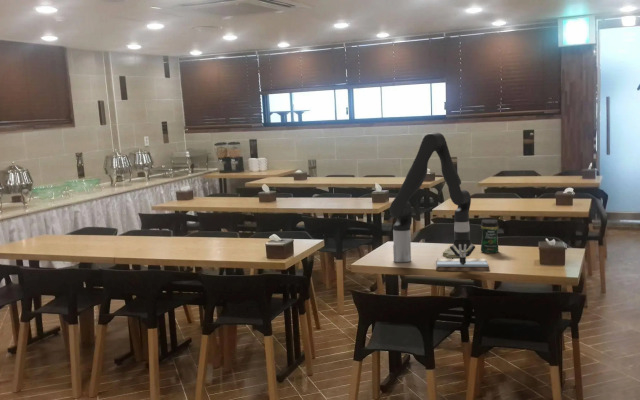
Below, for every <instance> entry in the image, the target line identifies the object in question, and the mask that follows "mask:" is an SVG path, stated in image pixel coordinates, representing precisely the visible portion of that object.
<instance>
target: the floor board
mask: <svg viewBox="0 0 640 400" xmlns="http://www.w3.org/2000/svg"><path fill="white" fill-rule="evenodd" d="M437 261H460V258H453V259H452V258H436V260H435V270H436V271H453V272H455V271H456V272H457V271H458V272H459V271H460V272H461V271H463V272H465V271H468V272H469V271H479V272H482V271H485V272H486V271H488V272H489V271H490V266H489V265H488V267H437ZM466 261H481V262H487V263H488V260H487V259H486V258H466Z"/></svg>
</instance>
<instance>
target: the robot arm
mask: <svg viewBox="0 0 640 400" xmlns="http://www.w3.org/2000/svg"><path fill="white" fill-rule="evenodd" d="M434 152H435V153H436V154H437V156H438V158H439V160H440V166H441V167H440V168H441V173H442V177H443V179H444V181H445V184H446V185H447V189H448V193H449V197H450V199H451V202H452V203H453V204H454V205H455V206H457V208H456V209H455V211H454V224H453V226H454V229H453V230H454V231H453V232H454V233H453V234H454V241H453V244H452V245H450V246H449V247H450V249H451V250H452V251H453V252H454V253H455V255H456V256H459V257H460V258H459V259H460V263H461V265H464V263H466V259H467V257H469V256H471V254H472V253H473V252H474V250H475V249H476V246H475V245H474V244H473V243H472V242H471V231H470V230H471V227H470V226H471V225H470V216H469V215H470V208H471V203H472V198H471V194H470V192H469V191H468V190H465V189H461V185H462V180H461V178H460V176H459V174H458V172H457V170H456V168H455V165H454V163H453V160H452V157H451V153H450V150H449V147H448V144H447V141H446V138H445V135H443V134H442V133H440V132H430V133H427V134H425V135H424V137H423V138H422V141H421V142H420V145H419V149H418V152H417V154H416V155H415V158H414V160H413V162H412V165H411V166H410V168H409V170H408V172H407V174H406V177H405V178H404V181H403V182H402V185H401V187H400V189H399V190H398V193H397V194H396V195H395V198H394V199H393V200H392V202H391V203H390V206H389V214H390V215H391V217H392V218H394V219H396V221H395V223H393V225H392V233H393V234H392V235H393V236H392V237H393V244H392V245H393V246H392V247H393V249H392V250H393V253H392V254H393V263H395V262H396V263H410V262H412V248H411V247H412V246H411V245H412V244H411V243H412V242H411V225H412V223H413V220H412V218H413V215H412V214H413V208H412V204H411V202H410V201H409V200H410V199H411V197H412V196H413V195H414V194H415V193H416V192H418V190H419V189H420V188H421V187H422V186H423V183H424V181H425V180H426V177H427V174H428V164H429V161H430V159H431V157H432V155H433V154H434ZM454 246H455V247H456V248H457V249H458V250H459V253H457V251H456V250H455V247H454ZM469 246H470V250H469V251H468V253H466V250H467V249H468V248H469ZM462 250H463V257H462Z"/></svg>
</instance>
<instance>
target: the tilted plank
mask: <svg viewBox="0 0 640 400" xmlns="http://www.w3.org/2000/svg"><path fill="white" fill-rule="evenodd" d="M436 261H437V260H436ZM488 266H489V263H488V261H487V262H481V261H466V263H464V265H461V263H460V261H437V267H488Z"/></svg>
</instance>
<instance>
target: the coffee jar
mask: <svg viewBox="0 0 640 400" xmlns="http://www.w3.org/2000/svg"><path fill="white" fill-rule="evenodd" d="M499 227H500V226H499V221H498V220H497V219H482V220H481V224H480V228H481V242H480V252H482V253H485V254H495V253H498V252H499V243H498V242H499V237H498V231H499Z"/></svg>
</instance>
